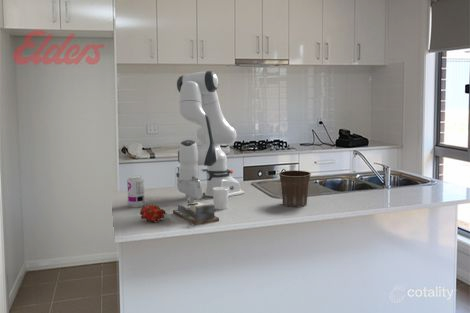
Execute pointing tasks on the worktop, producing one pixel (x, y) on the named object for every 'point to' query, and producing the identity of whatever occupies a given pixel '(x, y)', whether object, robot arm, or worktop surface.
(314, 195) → the worktop surface
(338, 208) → the worktop surface
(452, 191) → the worktop surface
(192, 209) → the cream block with rod
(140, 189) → the supplement can
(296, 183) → the plant pot
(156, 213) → the dragon fruit
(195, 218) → the base
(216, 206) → the white cup
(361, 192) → the worktop surface
